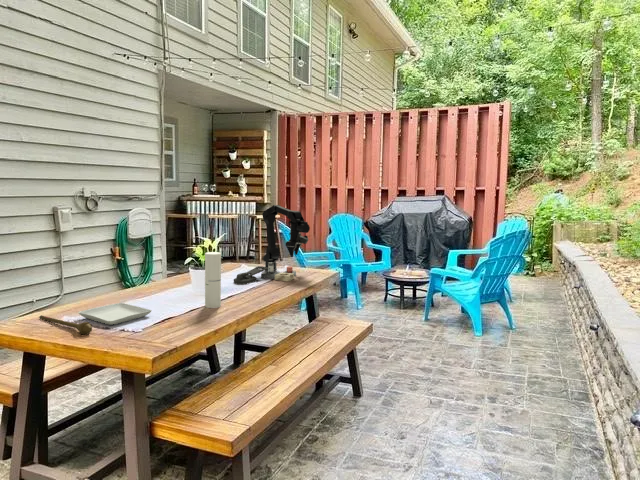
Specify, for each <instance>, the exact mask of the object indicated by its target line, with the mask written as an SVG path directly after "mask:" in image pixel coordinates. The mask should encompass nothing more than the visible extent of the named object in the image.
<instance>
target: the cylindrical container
mask: <svg viewBox="0 0 640 480" xmlns="http://www.w3.org/2000/svg"><path fill="white" fill-rule="evenodd" d="M204 275H205V276H204V307H205V308H208V309H217V308H220V307H222V306H221V302H222V301H221V300H222V299H221V298H222V297H221V295H222V293H221V292H222V282H221V281H222V279H221V278H222V253H221V252H219V251H218V252H217V251H207V252H205V253H204Z"/></svg>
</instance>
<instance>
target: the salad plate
mask: <svg viewBox="0 0 640 480" xmlns="http://www.w3.org/2000/svg"><path fill="white" fill-rule="evenodd" d="M77 313H78V314H79V315H80V316H81V317H83V318H85V319H87V320H91V321H93V320H94V321H93V322H97V321H98V322H97V323H100V322H101V324H104V323H105V325H109V326H111V325H112V326H113V324H114V325H118V323H119V324H122V323H125V321H126V322H129V320H130V321H133V320H137V319H140V318H143V317H146V316H147V315H149V314H151V313H152V309H150V308H144V307H141V306H137V305H132V304H128V303H125V302H117V303H114V304H113V303H112V304H107V305H103V306H98V307H97V306H96V307H92V308H89V309H85V310H81V311H78V312H77ZM136 318H137V319H136ZM121 322H122V323H121Z"/></svg>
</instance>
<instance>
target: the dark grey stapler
mask: <svg viewBox="0 0 640 480" xmlns="http://www.w3.org/2000/svg"><path fill="white" fill-rule="evenodd" d="M267 269H268V267H265V266H262V265H261V266H260V265H258V266H256V267H254V268H252V269H250V270H247V271H246V272H241V273H238V274H237V275H236V277H235V278H234V279H233V284H236V283H237V284H236V285H248V284H251V283H254V282H256V281H257V276H255V275H257V274H261V273H263V272H266V271H268V270H267ZM253 281H254V282H253ZM250 282H251V283H250ZM247 283H248V284H247Z"/></svg>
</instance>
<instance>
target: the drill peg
mask: <svg viewBox="0 0 640 480" xmlns="http://www.w3.org/2000/svg"><path fill="white" fill-rule="evenodd" d="M267 271H268V273H269V274H273V272H275V270H274V263H273V262H268V270H267Z"/></svg>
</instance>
